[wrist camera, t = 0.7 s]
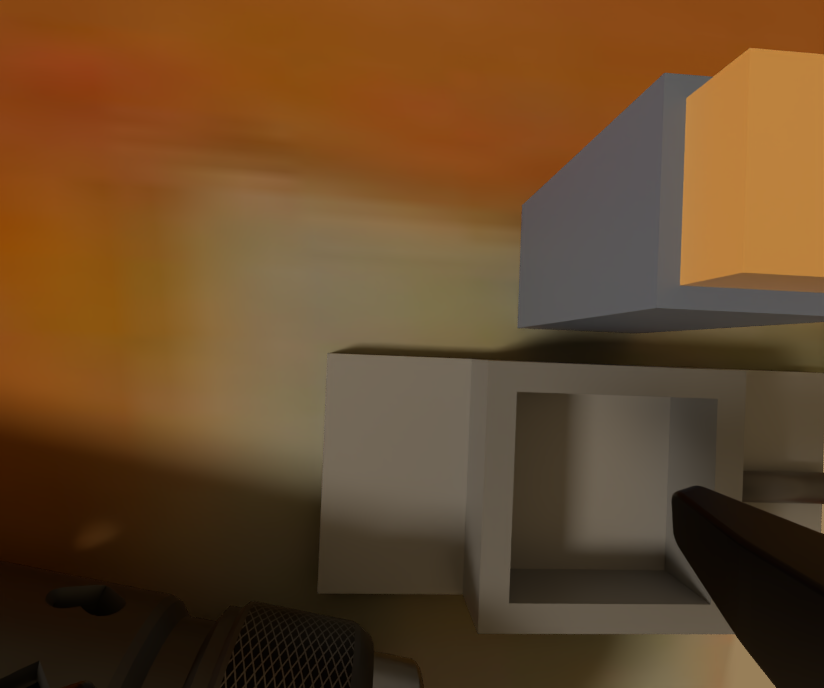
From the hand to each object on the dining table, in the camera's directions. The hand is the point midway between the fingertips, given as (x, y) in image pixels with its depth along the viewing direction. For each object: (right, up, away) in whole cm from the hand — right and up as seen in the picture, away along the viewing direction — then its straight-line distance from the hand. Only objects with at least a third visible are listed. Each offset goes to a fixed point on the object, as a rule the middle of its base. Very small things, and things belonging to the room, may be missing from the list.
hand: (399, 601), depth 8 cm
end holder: (+7, -1, +14) cm, 16 cm away
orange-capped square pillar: (+7, +7, +15) cm, 18 cm away
